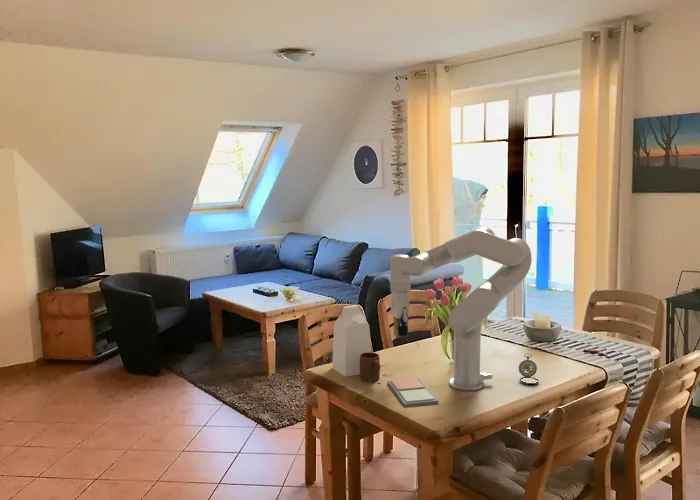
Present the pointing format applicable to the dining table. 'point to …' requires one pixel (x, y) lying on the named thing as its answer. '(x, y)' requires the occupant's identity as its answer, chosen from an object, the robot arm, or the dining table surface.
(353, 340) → the milk
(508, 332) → the dining table surface
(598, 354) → the dining table surface
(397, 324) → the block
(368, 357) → the mug
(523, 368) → the pocket watch
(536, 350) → the dining table surface
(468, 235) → the robot arm
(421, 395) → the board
